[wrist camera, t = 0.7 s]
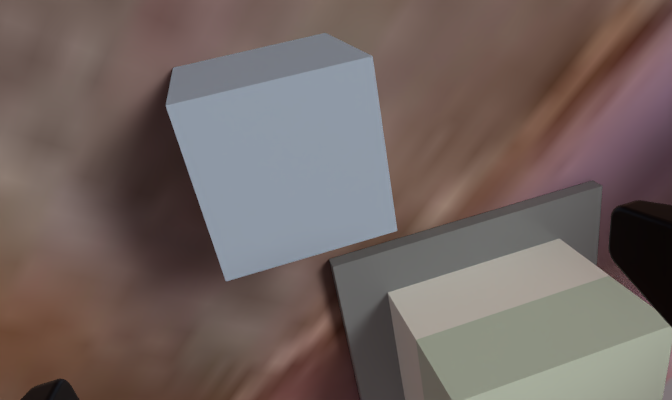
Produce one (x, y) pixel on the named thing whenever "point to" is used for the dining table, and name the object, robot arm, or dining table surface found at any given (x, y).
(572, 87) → the dining table surface
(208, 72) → the top block
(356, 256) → the pale block on slab
